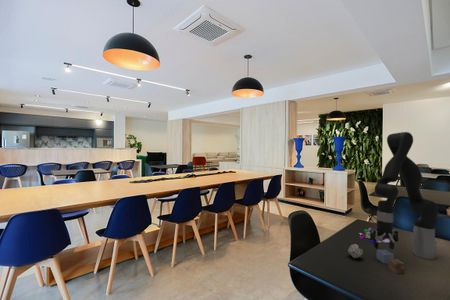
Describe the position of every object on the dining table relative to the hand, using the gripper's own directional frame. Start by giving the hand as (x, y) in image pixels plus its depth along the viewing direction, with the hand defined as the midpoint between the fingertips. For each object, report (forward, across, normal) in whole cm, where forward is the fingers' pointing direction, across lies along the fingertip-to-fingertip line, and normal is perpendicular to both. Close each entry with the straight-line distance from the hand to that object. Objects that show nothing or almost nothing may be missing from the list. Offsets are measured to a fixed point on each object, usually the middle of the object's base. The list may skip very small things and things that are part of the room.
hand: (383, 248), depth 122 cm
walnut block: (+7, +1, +10) cm, 12 cm away
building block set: (+7, -19, -32) cm, 38 cm away
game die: (+7, +14, -2) cm, 16 cm away
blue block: (+7, -1, 0) cm, 7 cm away
